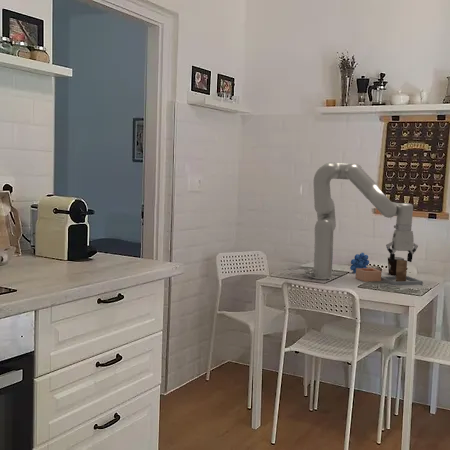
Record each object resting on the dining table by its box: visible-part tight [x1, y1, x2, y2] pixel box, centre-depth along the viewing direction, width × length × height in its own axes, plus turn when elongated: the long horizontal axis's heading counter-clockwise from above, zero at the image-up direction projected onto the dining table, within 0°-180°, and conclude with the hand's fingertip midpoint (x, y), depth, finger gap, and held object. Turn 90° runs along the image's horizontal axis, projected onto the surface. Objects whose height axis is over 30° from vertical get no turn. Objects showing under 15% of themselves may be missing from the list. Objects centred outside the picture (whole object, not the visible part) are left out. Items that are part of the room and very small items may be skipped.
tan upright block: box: [395, 259, 408, 282], centre depth 314 cm, size 5×5×11 cm
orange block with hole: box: [355, 267, 382, 283], centre depth 319 cm, size 9×9×6 cm
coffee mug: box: [387, 256, 405, 276], centre depth 335 cm, size 12×9×10 cm
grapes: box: [349, 252, 370, 274], centre depth 337 cm, size 12×7×12 cm, turn 111°
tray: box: [381, 275, 424, 286], centre depth 315 cm, size 16×14×2 cm
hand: (400, 261), depth 314 cm, fingers open, 9 cm apart
